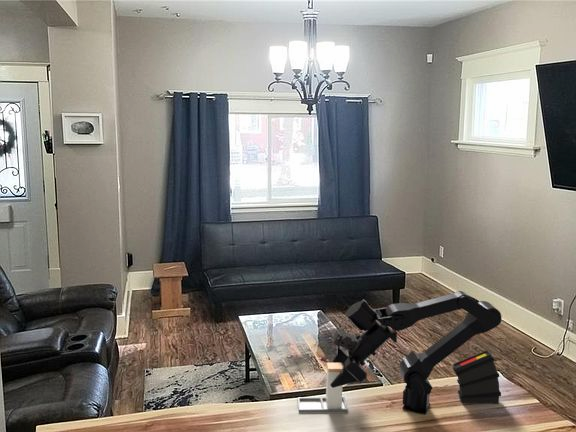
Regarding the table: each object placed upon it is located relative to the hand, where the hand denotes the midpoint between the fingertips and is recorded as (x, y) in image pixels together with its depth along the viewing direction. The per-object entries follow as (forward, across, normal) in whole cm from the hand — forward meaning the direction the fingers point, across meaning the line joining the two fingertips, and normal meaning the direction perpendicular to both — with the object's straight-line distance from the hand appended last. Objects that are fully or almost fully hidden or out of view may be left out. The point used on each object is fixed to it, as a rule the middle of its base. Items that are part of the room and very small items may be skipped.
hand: (329, 378), depth 161 cm
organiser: (+8, 0, +5) cm, 9 cm away
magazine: (-24, -4, +37) cm, 44 cm away
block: (+5, 0, +7) cm, 8 cm away
